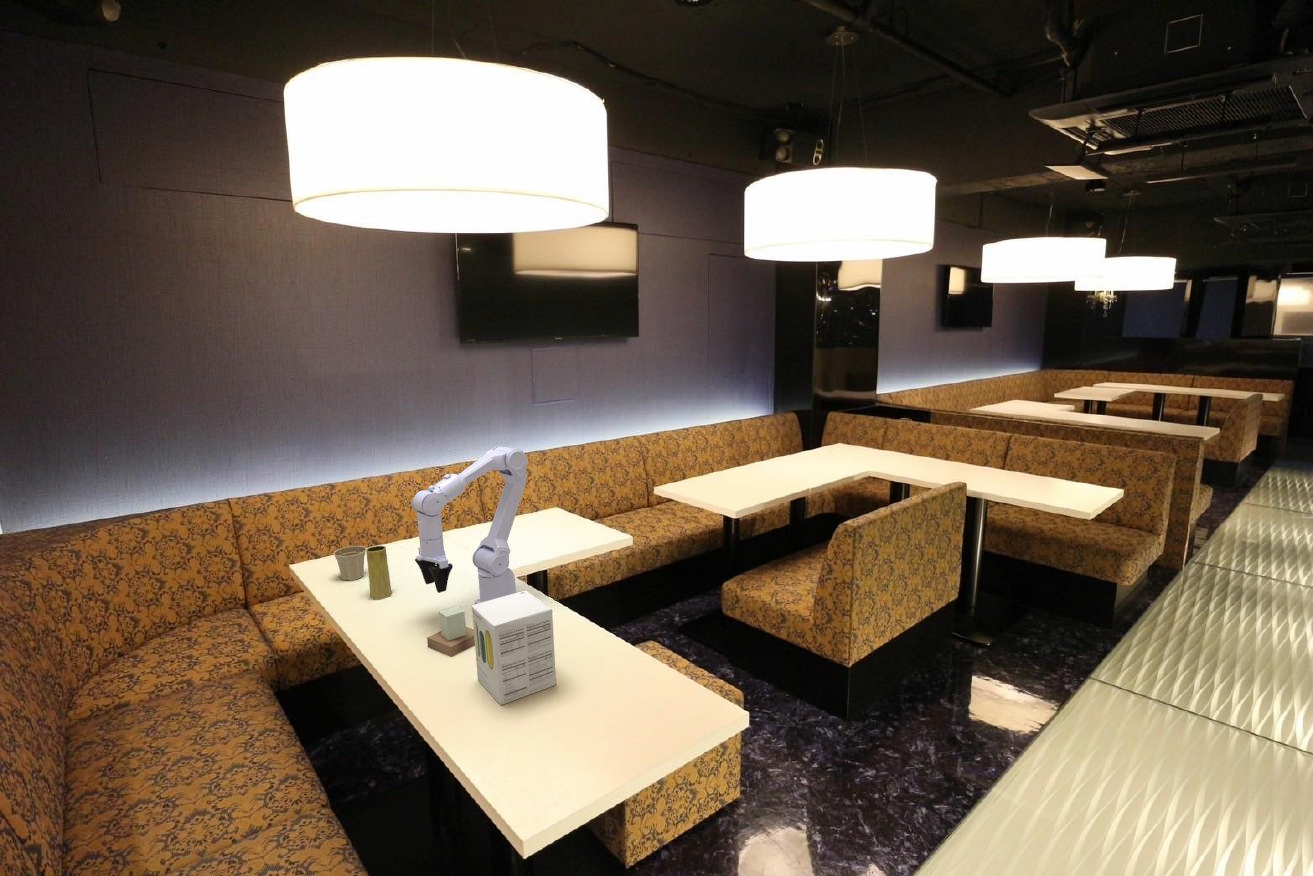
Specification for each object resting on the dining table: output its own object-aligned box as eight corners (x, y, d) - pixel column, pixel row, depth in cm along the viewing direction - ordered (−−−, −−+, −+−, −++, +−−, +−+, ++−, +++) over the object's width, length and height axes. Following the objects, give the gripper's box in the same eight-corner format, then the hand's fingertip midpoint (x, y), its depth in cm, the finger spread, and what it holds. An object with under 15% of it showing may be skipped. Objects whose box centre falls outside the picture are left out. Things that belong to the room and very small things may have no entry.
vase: (384, 600, 190) (379, 552, 188) (365, 599, 192) (359, 551, 189) (396, 591, 196) (391, 545, 194) (377, 590, 197) (372, 544, 195)
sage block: (458, 629, 165) (456, 606, 164) (466, 634, 162) (464, 611, 161) (441, 635, 162) (438, 611, 161) (448, 640, 159) (446, 616, 158)
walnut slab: (458, 634, 169) (457, 623, 169) (481, 643, 164) (481, 632, 163) (428, 649, 162) (427, 637, 161) (451, 659, 157) (450, 647, 156)
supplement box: (475, 679, 146) (469, 604, 143) (531, 660, 154) (526, 589, 151) (499, 706, 136) (493, 626, 133) (558, 685, 143) (553, 608, 140)
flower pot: (375, 575, 210) (372, 548, 209) (348, 585, 202) (345, 558, 201) (357, 569, 215) (354, 544, 214) (330, 579, 207) (326, 553, 206)
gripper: (405, 534, 174) (410, 583, 176) (426, 547, 163) (431, 600, 165) (431, 528, 178) (436, 576, 180) (454, 540, 167) (458, 592, 169)
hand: (435, 587), depth 173 cm, fingers open, 7 cm apart
